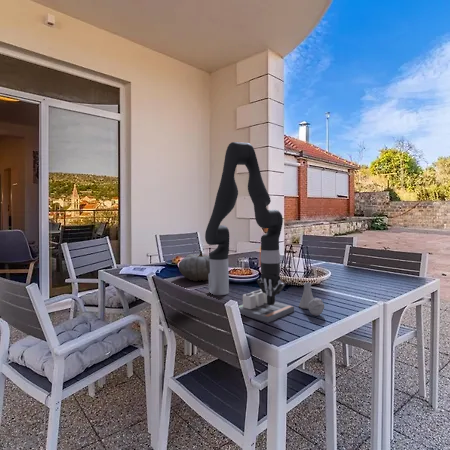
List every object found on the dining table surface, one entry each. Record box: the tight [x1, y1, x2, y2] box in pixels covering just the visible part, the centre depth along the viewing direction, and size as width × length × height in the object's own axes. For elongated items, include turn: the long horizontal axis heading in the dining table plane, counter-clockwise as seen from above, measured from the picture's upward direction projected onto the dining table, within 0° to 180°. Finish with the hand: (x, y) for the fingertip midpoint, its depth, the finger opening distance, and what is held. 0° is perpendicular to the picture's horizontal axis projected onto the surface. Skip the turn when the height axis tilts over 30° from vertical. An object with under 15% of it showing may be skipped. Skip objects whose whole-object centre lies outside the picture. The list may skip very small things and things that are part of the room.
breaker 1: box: [242, 292, 256, 309], centre depth 129 cm, size 4×3×6 cm
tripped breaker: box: [250, 289, 264, 306], centre depth 132 cm, size 4×3×6 cm
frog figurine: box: [308, 297, 325, 317], centre depth 124 cm, size 6×7×7 cm
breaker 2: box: [259, 288, 267, 304], centre depth 136 cm, size 4×3×6 cm
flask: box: [298, 282, 314, 310], centre depth 135 cm, size 7×7×10 cm
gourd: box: [178, 250, 210, 282], centre depth 189 cm, size 25×25×17 cm
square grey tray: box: [238, 301, 295, 323], centre depth 130 cm, size 17×17×2 cm
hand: (271, 304), depth 127 cm, fingers closed
